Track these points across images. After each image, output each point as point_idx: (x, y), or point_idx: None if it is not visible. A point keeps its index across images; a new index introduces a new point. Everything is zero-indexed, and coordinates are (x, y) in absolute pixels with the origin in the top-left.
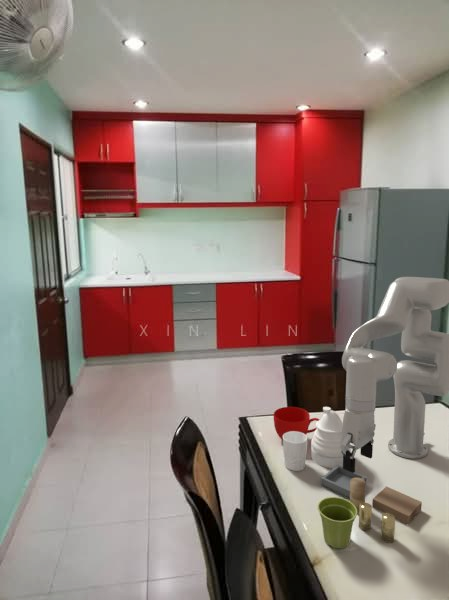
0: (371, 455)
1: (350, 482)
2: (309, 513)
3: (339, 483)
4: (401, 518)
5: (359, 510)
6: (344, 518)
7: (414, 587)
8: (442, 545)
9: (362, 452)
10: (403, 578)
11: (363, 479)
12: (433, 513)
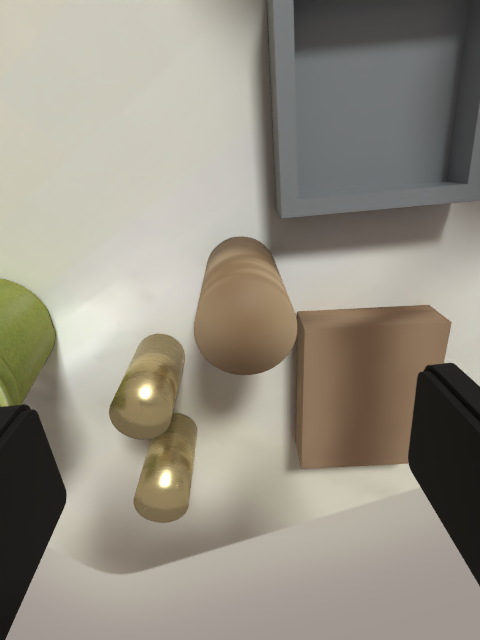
0: (429, 495)
1: (207, 294)
2: (11, 126)
3: (354, 80)
4: (297, 429)
5: (122, 382)
6: (29, 354)
7: (71, 541)
8: (279, 527)
9: (436, 407)
10: (72, 518)
11: (444, 202)
12: None
